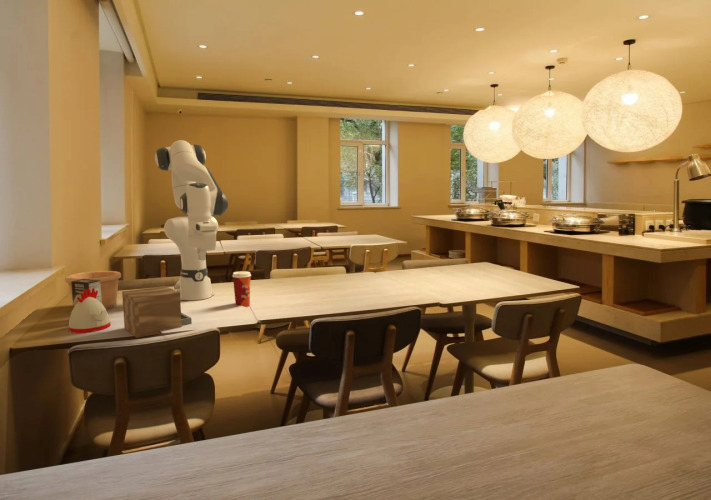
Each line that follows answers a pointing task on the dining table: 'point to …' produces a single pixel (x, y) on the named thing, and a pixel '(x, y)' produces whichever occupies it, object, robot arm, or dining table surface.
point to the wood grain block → (151, 310)
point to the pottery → (107, 284)
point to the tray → (185, 319)
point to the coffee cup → (242, 288)
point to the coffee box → (86, 284)
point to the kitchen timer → (88, 314)
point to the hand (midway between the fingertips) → (201, 259)
